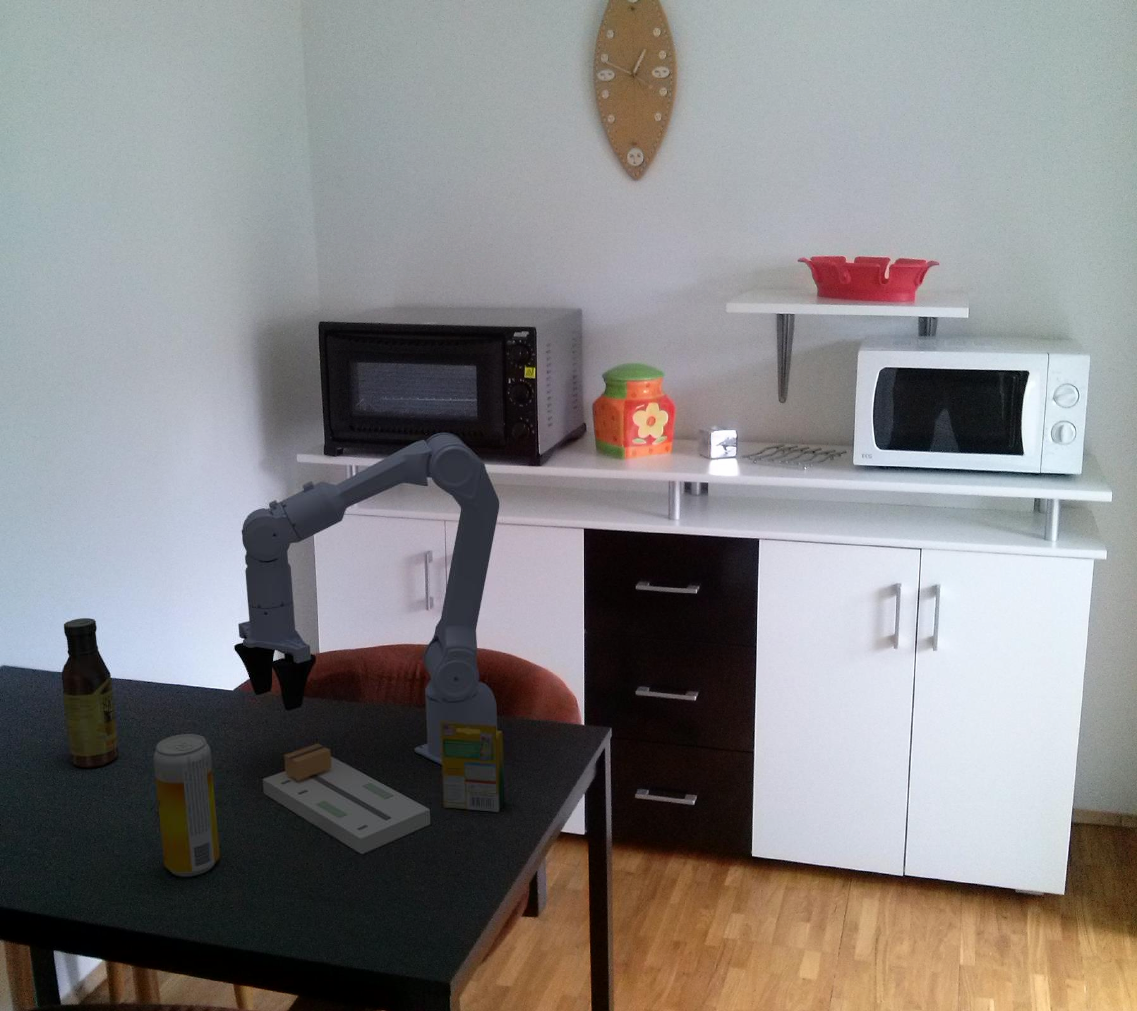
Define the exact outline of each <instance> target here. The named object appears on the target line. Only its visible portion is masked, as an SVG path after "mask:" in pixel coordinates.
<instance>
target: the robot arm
mask: <svg viewBox="0 0 1137 1011" xmlns="http://www.w3.org/2000/svg"><path fill="white" fill-rule="evenodd" d="M428 478H431V480H432V482H433V483H434V484H435V485H436V486H437V487H438V488H439V489H441V490H442V491H444V492H445V493H447V494H449V495H450V496H451V497H453V499H454V500H455V502H456V503H457V504H458V506H459V507H460V512H459V517H458V518H459V519H458V524H457V529H456V536H455V540H454V545H453V546H454V547H453V551H452V555H451V562H450V567H449V573H448V577H447V584H446V588H445V594H444V600H443V606H442V609H441V610H442V611H441V616H440V619H439V620H438V623H437V624H436V626H435V630H434V634H433V637H432V639H431V640H430V641H429V643H428V644H427V646H426V647H425V649H424V652H423V656H422V657H423V658H422V660H423V664H424V667H425V669H426V670H427V672H428V673H429V675H430V679H429V682H428V684H427V685H426V686H425V690H424V694H425V717H426V737H427V738H426V740H427V742H426V743H425V744H422V745H420V746H419V745H418V746H416V747H415V748H414V752H415V753H416V754H418V755H421V756H423V757H425V758H427V759H429V760H431V761H433V762H434V763H437V764H438V765H441V766H442V751H441V723H440V722H454V723H468V724H484V725H496V731H498V716H497V713H498V712H497V708H498V707H497V702H496V699H495V698H496V697H495V695H494V692H493V691H492V689H491V688H490V687H489V686H488V685H487V684H485V683H484V682H481V681H479V680H480V673H479V669H478V666H477V654H478V642H477V640H478V638H477V628H478V620H479V615H480V611H481V607H482V606H481V605H482V601H483V596H484V589H485V585H486V579H487V575H488V569H489V565H490V564H489V563H490V558H491V552H492V548H493V541H494V538H495V537H494V536H495V532H496V526H497V523H498V522H497V521H498V516H499V511H500V510H499V509H500V499H499V497H498V494H497V492H496V490H495V488H494V485H493V483H492V481H491V479H490V476H489V474H488V471H487V468H486V465H485V463H484V461H483V460H481V458H480V457H479V456H478V455H476V453H475V452H474V451H473V450H472V449H471V448H470V447H468V445H466V443H464V442H463V440H461V438H459V437H458V436H457V435H455V434H453V433H449V432H439V433H436V434H433V435H431V436H430V437H428V438H427V439H426V440H425V439H422V440H418V441H416V442H415V441H414V442H413V443H411V444H409V445H407V446H405V447H404V448H402V449H400V450H398V451H396V452H394V453H392V454H391V455H389V456H387V457H385V458H383V459H381V460H379V461H378V462H376V463H373V464H372V465H370V466H368V467H367V468H365V469H363V470H361V471H359V472H358V473H355V474H354V475H352V476H350V477H348V478H346V479H345V480H343V481H341V482H339V483H337V484H333V483H328V482H325V481H319V482H317V483H315V484H314V483H313V481H308V482H307V483H304V484H303V485H302V489H303V490H301V491H299V492H297V493H295V494H293V495H291V496H289V497H287V498H285V499H283V500H281V501H279V502H277V500H276V499H275V500H272V501H270V502H269V503H268V506H269V507H268V508H266V507H265V508H263V507H262V508H258V509H255V510H253V511H252V512H250V513H249V514H248V515H247V516H246V518H245V519H244V522H243V524H242V529H241V535H242V537H241V538H242V539H241V540H242V545H243V548H244V549H245V552H246V554H245V556H244V560H245V565H246V568H245V570H244V571H245V573H244V574H245V584H246V595H247V596H246V597H247V598H246V599H247V606H248V620H247V621H244V622H241V623H238V624H237V625H238V635H239V636H238V637H239V638H241V639H243V640H242V642H240V643H236V644H235V645H234V646H233V649H234V651H235V652H236V654H237V655H238V656H239V659H241V662H242V663H243V666H244V668H245V669H246V670H245V671H246V672H247V676H248V679H249V681H250V684H251V687H252V689H253V693H254V695H256V696H260V695H264V694H266V693H269V692H272V687H273V686H272V685H273V671H274V673H275V675H276V678H277V681H278V684H279V688H280V693H281V699H282V704H283V706H284V709H285V711H288V712H291V711H293V710H296V709H298V708H299V709H300V708H301V707H302V706H303V701H304V696H305V692H306V691H305V690H306V686H307V682H308V679H309V676H310V674H311V671H312V669H313V667H314V665H315V664H316V662H317V656H316V655H315V654H312V653H311V645H310V644H308V643H306V642H305V641H304V639H303V638H302V637H301V635H300V634H299V632H298V631H297V630H296V620H295V608H294V606H295V605H294V594H293V579H292V578H293V577H292V567H291V564H290V563H289V555H288V554H289V553H288V551H289V549H290V546H291V544H294V543H300V542H302V541H304V540H307V539H308V538H310V537H312V536H314V535H316V534H318V533H321V532H322V531H325V530H327V529H328V528H330V527H332V526H335V525H336V524H339V523H340V522H343V519H344V517H345V513H346V510H347V509H348V508H349V507H352V506H354V505H356V504H359V503H361V502H363V501H365V500H367V499H369V498H372V497H374V496H377V495H378V494H382V493H383V492H385V491H387V490H389V489H392V488H394V487H396V486H399V485H401V484H410V485H417V486H422V487H428V486H429V483H428ZM275 652H279V653H281V654H283V655H284V656H283V657H281V658H278V659H274V658H275ZM462 729H472V728H470V727H465V728H462ZM476 730H479V729H476Z"/></svg>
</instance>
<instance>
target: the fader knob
mask: <svg viewBox="0 0 1137 1011" xmlns="http://www.w3.org/2000/svg"><path fill="white" fill-rule="evenodd" d="M331 754H332V753H331V750H330V748H328V747H326V745H322V744H320V743H314V744H312V745H309V746H306V747H303V748H301V749H298V750H295V751H291V752H289V753H286V754H284V756H283V757H284V769H285V770H284V771H286V774H288V775H290V776H292V777H293V778H295V779H297V780H300V779H303V778H306V777H308V776H311V775H314V774H316V773H319V772H322V771H324V770H327V769H330V768H331V757H332V756H331Z"/></svg>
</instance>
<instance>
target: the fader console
mask: <svg viewBox="0 0 1137 1011" xmlns="http://www.w3.org/2000/svg"><path fill="white" fill-rule="evenodd" d="M262 788H263V794H264V795H265V796H267V797H269V798H271V799H272V800H274V801H275V802H277V803H278V804H280V805H282V806H283V807H285V808H286V809H288V810H290V811H291V812H293V813H295V814H296V815H298V816H299V817H301V818H302V819H304V820H305V821H307V822H308V823H310V824H311V825H314V826H315V827H317V828H319V829H320V830H322V831H323V832H325V833H327V834H329V835H330V836H331V837H333V838H335V839H336V840H338V841H340V842H341V843H342V844H345V845H346V846H348V847H349V848H351V849H352V850H354V851H355V852H358V853H359V854H360V855H364V854H366V853H368V852H371V851H373V850H375V849H378V848H380V847H382V846H384V845H386V844H389V843H391V842H393V841H397V840H398V839H400V838H402V837H405V836H407V835H409V834H411V833H413V832H416V831H418V830H420V829H424V828H425V827H427V826H429V825H431V814H430V813H431V811H430V808H428V807H426V806H424V805H423V804H421V803H418V802H417V801H415V800H413V799H411V798H409V797H407V796H406V795H404V794H402V793H400V792H398V791H396V790H394V789H393V788H391V787H389V786H387V785H385V784H383V783H382V782H379V781H378V780H376V779H374V778H372V777H370V776H369V775H366V774H364V773H363V772H362V771H359V770H358V769H356V768H354V767H352V766H350V765H348V764H346V763H344V762H342V761H341V760H339V759H337V758H335V757H333V756H331V768H330V769H327V770H324V771H322V772H319V773H316V774H314V775H311V776H308V777H306V778H303V779H300V780H297V779H295V778H293V777H292V776H290V775H288V774H286V771H285V770H283V771H281V772H278V773H276V774H274V775H271V776H270V775H269V776H268V777H265V778H263V779H262Z"/></svg>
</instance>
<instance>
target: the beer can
mask: <svg viewBox="0 0 1137 1011" xmlns="http://www.w3.org/2000/svg"><path fill="white" fill-rule="evenodd" d="M155 748H156V749H155V752H154V755H153V763H154V764H153V765H154V766H153V768H154V778H155V785H156V786H155V787H156V788H155V789H156V795H157V798H156V799H157V805H158V814H159V815H158V817H159V825H160V827H159V828H160V835H161V836H160V837H161V846H162V856H163V864H164V865H163V866H164V867H165V868H166V869H167V870H169V871H170V873H172V874H173V875H175V876H176V877H177V876H178V877H193V876H198V875H202V874H204V873H207V872H208V871H210V870H211V869H212V868H213V867H214V866H215V864H216V862H217V861H218V859H219V858H220V845H219V833H218V821H217V810H216V800H215V799H216V798H215V788H214V787H215V786H214V776H213V775H214V774H213V767H212V766H213V765H212V754H211V753H212V752H211V747H210V746H209V744H208V743H207V740H206V738H205V737H204V736H203V735H199V734H197V733H196V734H194V733H183V734H176V735H172V736H169V737H167V738H164V739H163V740H161V741H159V742H158V743H157V744H156V747H155Z"/></svg>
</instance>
